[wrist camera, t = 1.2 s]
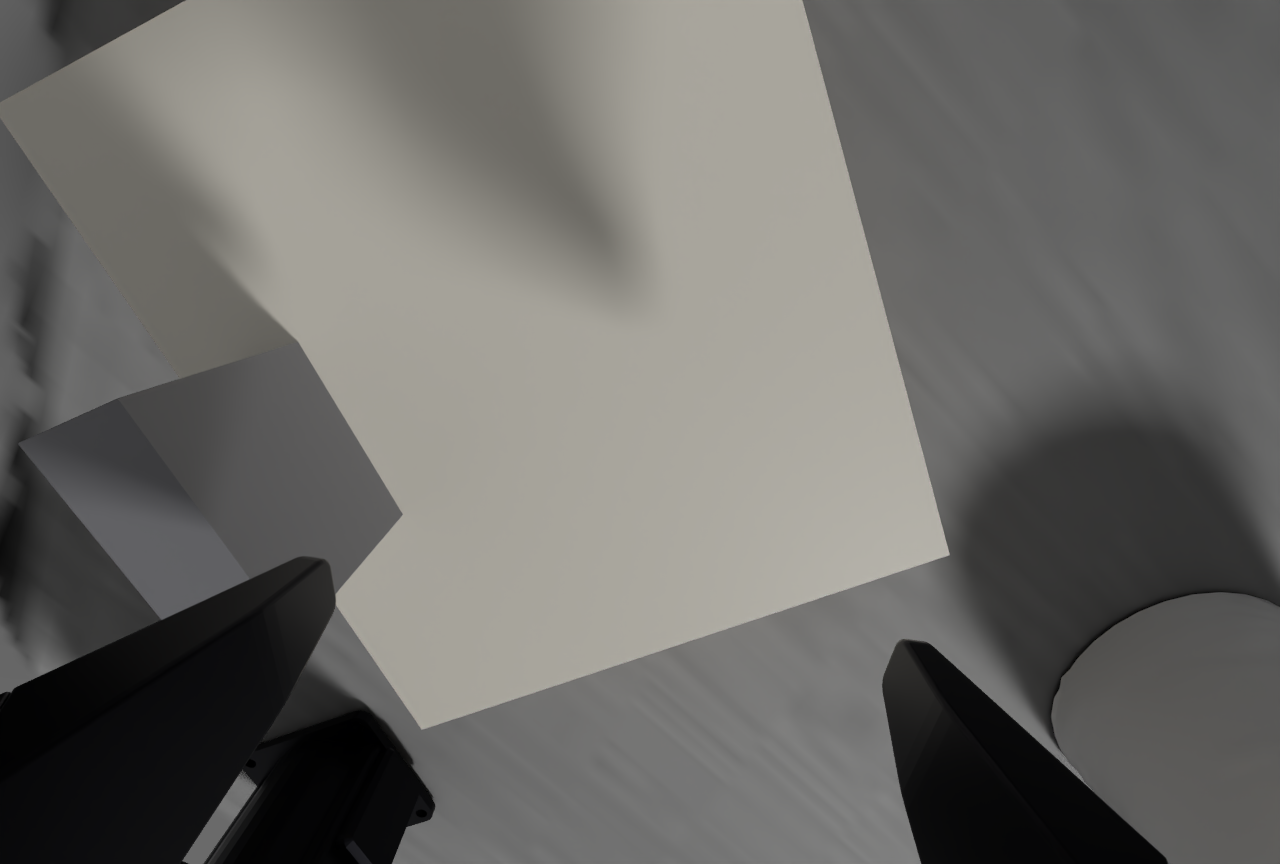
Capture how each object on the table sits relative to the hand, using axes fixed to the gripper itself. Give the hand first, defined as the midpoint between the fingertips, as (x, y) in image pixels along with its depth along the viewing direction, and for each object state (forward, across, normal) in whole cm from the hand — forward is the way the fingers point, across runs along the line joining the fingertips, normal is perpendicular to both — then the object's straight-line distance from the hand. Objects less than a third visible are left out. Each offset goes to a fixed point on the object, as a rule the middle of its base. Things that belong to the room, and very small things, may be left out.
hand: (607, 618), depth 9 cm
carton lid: (+7, +3, -2) cm, 8 cm away
